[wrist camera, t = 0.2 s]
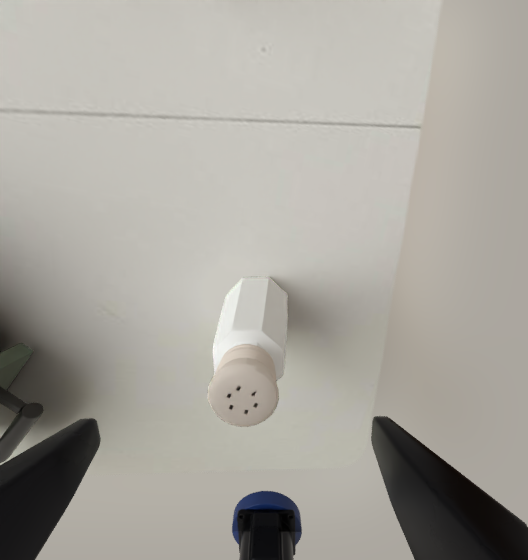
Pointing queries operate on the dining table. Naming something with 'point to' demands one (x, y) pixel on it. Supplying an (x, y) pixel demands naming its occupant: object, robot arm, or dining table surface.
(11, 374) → the drawer
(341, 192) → the dining table surface
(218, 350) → the salt shaker
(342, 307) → the dining table surface
